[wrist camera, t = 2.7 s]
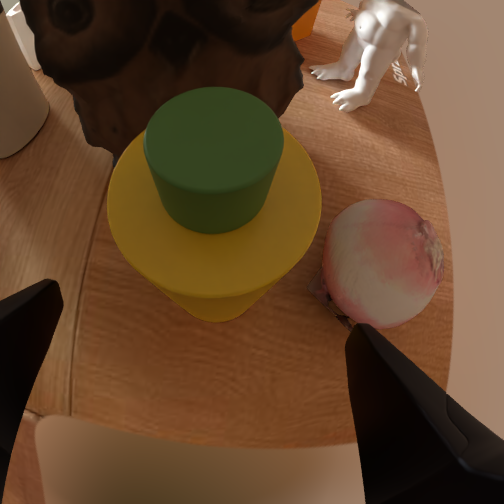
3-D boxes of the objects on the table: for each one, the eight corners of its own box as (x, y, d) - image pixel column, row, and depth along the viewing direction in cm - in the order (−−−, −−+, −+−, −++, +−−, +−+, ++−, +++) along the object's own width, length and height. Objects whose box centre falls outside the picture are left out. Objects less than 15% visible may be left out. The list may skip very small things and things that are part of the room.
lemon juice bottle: (270, 305, 18) (403, 221, 5) (189, 334, 17) (98, 328, 4) (241, 228, 19) (285, 41, 6) (163, 254, 18) (72, 89, 5)
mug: (78, 27, 25) (64, -23, 16) (85, 47, 24) (68, -13, 15) (8, 68, 23) (-15, 23, 13) (5, 96, 21) (-26, 44, 12)
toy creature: (294, 55, 26) (322, -35, 14) (339, 55, 27) (373, -23, 16) (351, 135, 23) (414, 32, 12) (397, 130, 24) (460, 47, 13)
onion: (404, 326, 19) (473, 315, 12) (306, 338, 18) (357, 338, 11) (390, 223, 21) (446, 181, 14) (297, 220, 20) (334, 164, 13)
